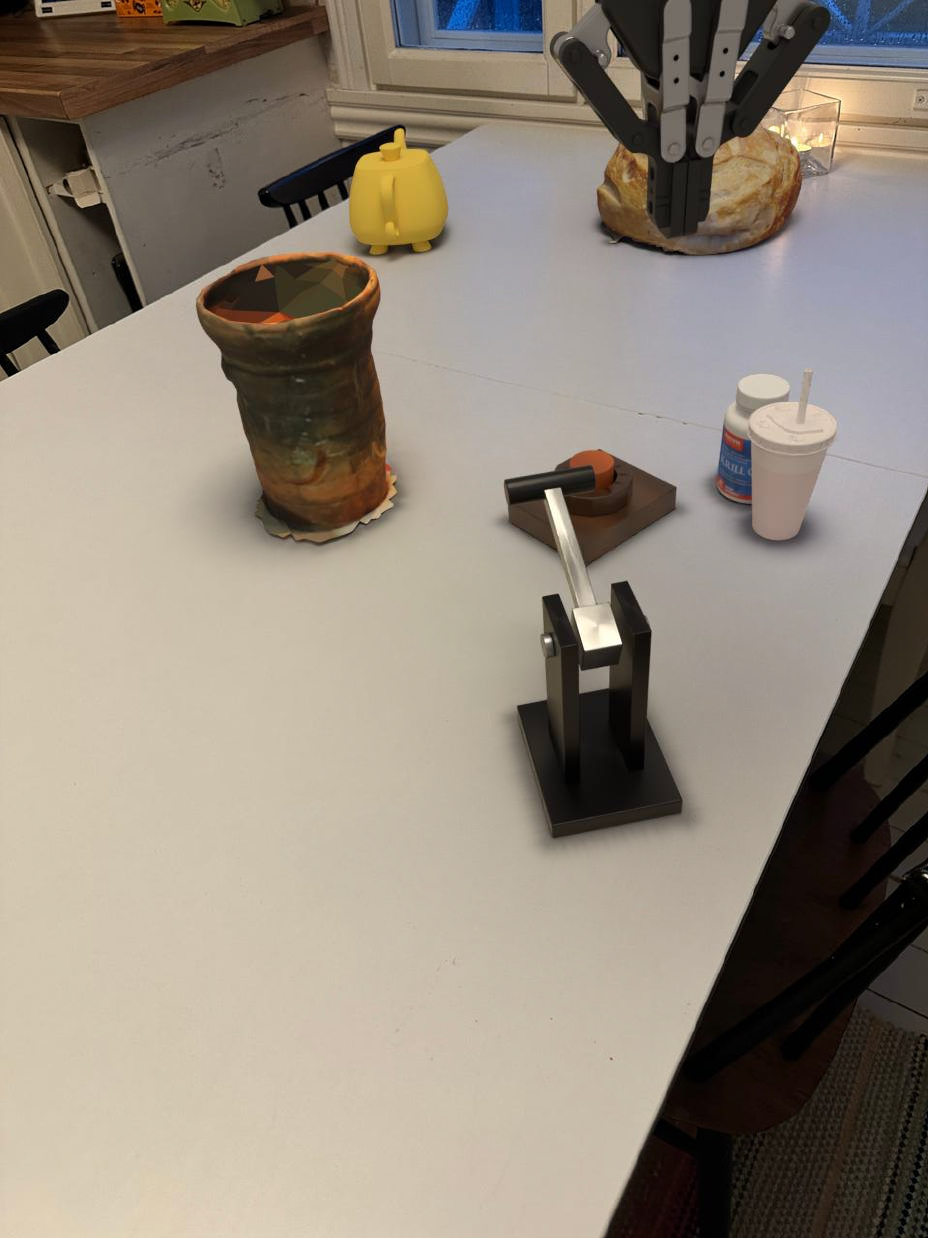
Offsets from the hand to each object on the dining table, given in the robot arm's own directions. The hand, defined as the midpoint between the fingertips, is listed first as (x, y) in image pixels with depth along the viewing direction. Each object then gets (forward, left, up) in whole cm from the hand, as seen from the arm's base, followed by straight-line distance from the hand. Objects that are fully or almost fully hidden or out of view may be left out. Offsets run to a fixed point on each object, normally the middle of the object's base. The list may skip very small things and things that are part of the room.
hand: (676, 231), depth 48 cm
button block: (-8, -14, -29) cm, 33 cm away
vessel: (+6, -33, -29) cm, 44 cm away
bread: (-66, -52, -29) cm, 89 cm away
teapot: (-38, -81, -29) cm, 94 cm away
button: (-8, -14, -25) cm, 30 cm away
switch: (+8, 0, -18) cm, 19 cm away
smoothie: (-17, -2, -29) cm, 34 cm away
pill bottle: (-20, -7, -29) cm, 36 cm away
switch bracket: (+11, +5, -29) cm, 31 cm away
